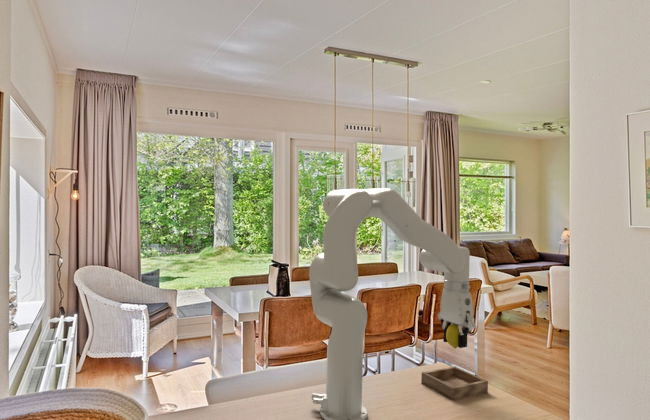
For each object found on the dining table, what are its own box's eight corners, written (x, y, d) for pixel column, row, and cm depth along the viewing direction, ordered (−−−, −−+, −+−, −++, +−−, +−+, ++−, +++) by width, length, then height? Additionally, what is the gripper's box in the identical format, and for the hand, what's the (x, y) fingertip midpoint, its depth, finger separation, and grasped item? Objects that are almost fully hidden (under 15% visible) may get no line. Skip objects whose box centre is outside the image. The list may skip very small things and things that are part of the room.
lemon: (465, 352, 135) (465, 325, 135) (446, 350, 136) (446, 324, 136) (463, 346, 141) (463, 321, 141) (445, 345, 142) (445, 320, 142)
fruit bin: (452, 400, 129) (453, 388, 129) (421, 383, 141) (421, 372, 141) (487, 392, 136) (487, 381, 136) (454, 376, 148) (454, 366, 148)
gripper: (486, 290, 133) (485, 350, 133) (446, 281, 148) (444, 335, 148) (468, 291, 129) (466, 354, 129) (428, 282, 144) (427, 338, 144)
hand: (455, 343), depth 139 cm, fingers closed on lemon, 5 cm apart
